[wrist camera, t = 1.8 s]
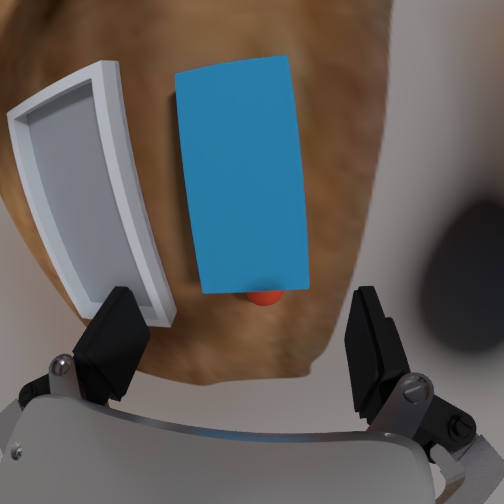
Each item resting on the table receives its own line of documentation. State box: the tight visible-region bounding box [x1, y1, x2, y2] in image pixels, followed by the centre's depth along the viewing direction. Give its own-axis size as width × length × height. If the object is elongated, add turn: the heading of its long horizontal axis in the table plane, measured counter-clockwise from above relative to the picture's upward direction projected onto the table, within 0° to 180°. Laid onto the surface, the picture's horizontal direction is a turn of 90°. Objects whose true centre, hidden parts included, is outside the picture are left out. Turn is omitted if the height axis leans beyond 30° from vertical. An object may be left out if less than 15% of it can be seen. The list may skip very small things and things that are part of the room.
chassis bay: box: [7, 60, 177, 327], centre depth 21 cm, size 24×12×2 cm, turn 5°
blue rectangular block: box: [175, 56, 309, 306], centre depth 19 cm, size 7×7×18 cm
